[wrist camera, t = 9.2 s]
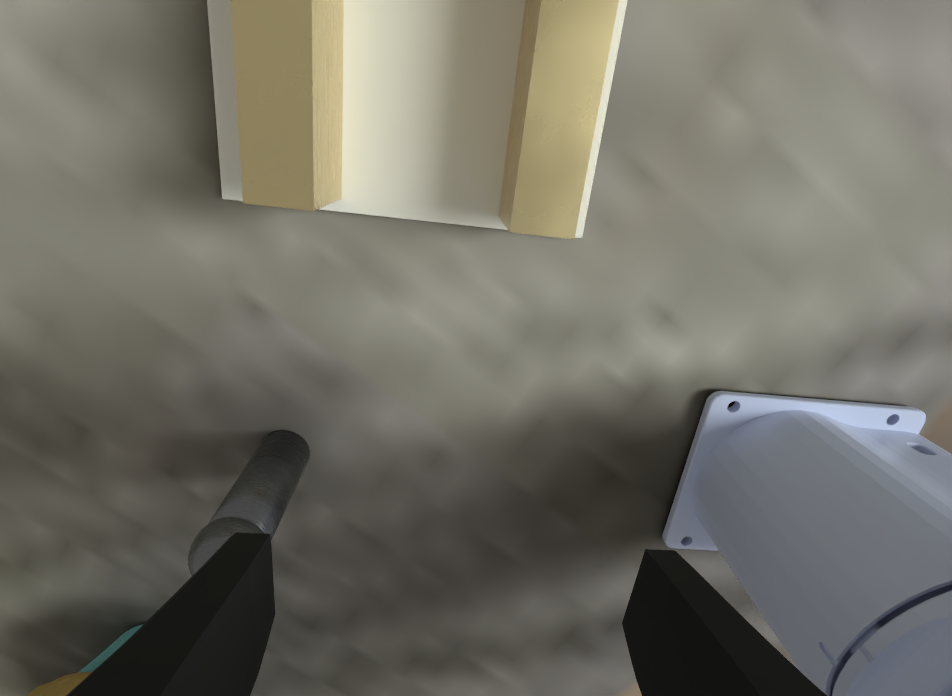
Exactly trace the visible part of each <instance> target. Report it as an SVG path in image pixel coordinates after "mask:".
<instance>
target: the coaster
mask: <svg viewBox="0 0 952 696" xmlns="http://www.w3.org/2000/svg"><path fill="white" fill-rule="evenodd" d="M207 6H208V20H209V33H210V46H211V59H212V72H213V85H214V98H215V111H216V124H217V137H218V150H219V163H220V176H221V189H222V199H229V200H238V201H243V198H242V182H241V166H240V150H239V134H238V118H237V102H236V85H235V69H234V53H233V37H232V21H231V5H230V0H207ZM626 6H627V0H619V2H618V8H617V13H616V18H615V24H614V29H613V35H612V40H611V45H610V51H609V56H608V61H607V67H606V72H605V78H604V83H603V88H602V94H601V99H600V104H599V110H598V115H597V121H596V126H595V131H594V137H593V142H592V147H591V153H590V158H589V164H588V169H587V174H586V180H585V185H584V190H583V196H582V201H581V207H580V212H579V217H578V223H577V228H576V233H575V237H577V238H582V235H583V230H584V225H585V219H586V214H587V209H588V204H589V198H590V193H591V188H592V183H593V178H594V172H595V167H596V162H597V157H598V152H599V146H600V141H601V136H602V131H603V125H604V120H605V115H606V110H607V105H608V99H609V94H610V89H611V84H612V79H613V73H614V68H615V63H616V58H617V52H618V47H619V42H620V37H621V32H622V26H623V21H624V16H625V11H626ZM524 8H525V0H344V22H343V118H342V199H340V200H338V201H335V202H333V203H331V204H329V205H326V206H324V207H322V208H320V209H321V210H330V211H339V212H348V213H357V214H366V215H376V216H385V217H394V218H403V219H412V220H421V221H430V222H440V223H449V224H458V225H467V226H476V227H485V228H495V229H504V230H508V229H507V228H506V227H505V225H504V224H503V222H502V221H501V219H500V218H499V217H498V214H499V206H500V198H501V190H502V182H503V174H504V166H505V158H506V150H507V142H508V134H509V127H510V119H511V111H512V103H513V95H514V87H515V79H516V71H517V63H518V55H519V47H520V40H521V32H522V24H523V16H524Z"/></svg>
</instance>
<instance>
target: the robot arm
mask: <svg viewBox="0 0 952 696" xmlns="http://www.w3.org/2000/svg"><path fill="white" fill-rule="evenodd" d="M733 401H735V403H734V405H733V406H731V407H729V408H727V407H728V405H729V403H731V402H733ZM889 416H890V417H889ZM888 417H889V418H888ZM925 420H926V415H925V413H924V412H923V411H921V410H919V409H917V408H914V407H907V406H895V405H883V404H871V403H859V402H847V401H835V400H823V399H811V398H799V397H787V396H775V395H764V394H752V393H740V392H728V391H716V392H714V393H712V394H711V395H710V396H709V397H708V398H707V400H706V403H705V406H704V409H703V412H702V415H701V418H700V421H699V424H698V427H697V430H696V434H695V437H694V440H693V443H692V446H691V449H690V452H689V455H688V458H687V461H686V464H685V467H684V470H683V474H682V477H681V480H680V483H679V486H678V489H677V492H676V495H675V498H674V501H673V504H672V507H671V510H670V514H669V517H668V520H667V523H666V526H665V529H664V532H663V537H662V538H663V540H664V542H665V544H666V545H667V546H668V547H670V548H678V549H696V550H715V551H720V553H721V554H722V556H723V557H724V559H725V560H726V562H727V563H728V565H729V566H730V568H731V569H732V571H733V572H734V574H735V575H736V577H737V578H738V580H739V581H740V583H741V584H742V586H743V587H744V589H745V590H746V592H747V593H748V595H749V596H750V598H751V599H752V601H753V602H754V604H755V605H756V607H757V608H758V610H759V611H760V613H761V614H762V616H763V617H764V619H765V620H766V622H767V623H768V625H769V626H770V628H771V629H772V631H773V632H774V634H775V635H776V637H777V638H778V640H779V641H780V643H781V644H782V646H783V647H784V649H785V650H786V652H787V653H788V655H789V656H790V658H791V659H792V661H793V662H794V664H795V665H796V667H797V668H798V669H797V668H796V667H795V666H794V665H793V664H792V663H790V662H789V661H788V660H787V659H786V658H785V657H784V656H783V655H782V654H781V653H780V652H779V651H778V650H777V649H775V648H774V647H773V646H772V645H771V644H770V643H769V642H768V641H767V640H766V639H765V638H764V637H763V636H762V635H761V634H760V633H759V632H758V631H757V630H756V629H755V628H754V627H753V626H752V625H750V624H749V623H748V622H747V621H746V620H745V619H744V618H743V617H742V616H741V615H740V614H739V613H738V612H737V611H736V610H735V609H734V608H733V607H732V606H731V605H730V604H729V603H728V602H727V601H726V600H725V599H724V598H723V597H722V596H721V595H720V594H719V593H718V592H717V591H716V590H715V589H714V588H713V587H712V586H711V585H710V584H709V583H708V582H707V581H706V580H705V579H704V578H703V577H702V576H701V575H700V574H699V573H698V572H697V571H696V570H695V569H694V568H693V567H692V566H691V565H690V564H688V563H687V562H686V561H685V560H684V559H683V558H682V557H681V556H680V555H679V554H678V553H677V552H676V551H673V550H648V549H645V552H644V556H643V559H642V562H641V565H640V568H639V571H638V575H637V578H636V581H635V584H634V587H633V590H632V593H631V597H630V600H629V603H628V606H627V609H626V612H625V616H624V619H623V622H622V624H623V628H624V633H625V637H626V641H627V645H628V649H629V653H630V657H631V661H632V665H633V668H634V672H635V676H636V679H637V682H638V685H639V688H640V691H641V693H642V696H952V454H950V453H948V452H947V451H945V450H943V449H942V448H940V447H938V446H937V445H935V444H934V443H932V442H930V441H929V440H927V439H925V438H924V437H922V436H920V435H919V432H920V430H921V429H922V427H923V425H924V423H925ZM685 537H687V538H685ZM683 538H685V539H683ZM274 616H275V603H274V586H273V568H272V551H271V534H263V533H239V532H236V533H235V534H234V535H232V536H231V537H230V538H229V539H228V540H227V541H226V542H225V543H224V544H223V545H222V546H221V547H220V548H219V549H218V550H217V551H216V552H215V553H214V554H213V555H212V556H211V558H210V559H209V560H208V561H207V562H206V563H205V564H204V565H203V566H202V567H201V568H200V569H199V570H198V571H197V572H196V573H195V574H194V575H193V576H192V577H191V578H190V579H189V580H188V581H187V582H186V583H185V584H184V585H183V586H182V587H181V588H180V589H179V590H178V591H177V592H176V593H175V594H174V595H173V596H172V597H171V598H170V599H169V600H168V601H167V602H166V603H165V604H164V605H163V606H162V607H161V608H160V609H159V610H158V611H157V612H156V613H155V614H154V615H153V616H152V617H151V618H150V619H149V620H148V621H147V622H145V623H144V624H143V625H142V626H141V627H140V628H139V629H138V630H137V631H136V632H135V633H134V634H133V635H132V636H131V637H130V638H129V639H128V640H127V641H126V642H125V643H124V644H123V645H121V646H120V647H119V648H118V649H117V650H116V651H115V652H114V653H113V654H112V655H111V656H109V657H108V658H107V659H106V660H105V661H104V662H103V663H102V664H101V665H99V666H98V667H97V668H96V669H95V670H94V671H93V672H92V673H91V674H89V675H88V676H87V677H86V678H85V679H84V680H83V681H82V682H81V683H79V684H78V685H77V686H76V687H75V688H74V689H73V690H72V691H71V692H69V693H68V694H67V695H66V696H250V694H251V691H252V689H253V686H254V684H255V681H256V678H257V676H258V673H259V669H260V666H261V662H262V659H263V656H264V652H265V649H266V645H267V642H268V638H269V634H270V631H271V627H272V624H273V620H274Z"/></svg>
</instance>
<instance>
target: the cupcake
mask: <svg viewBox="0 0 952 696" xmlns="http://www.w3.org/2000/svg"><path fill="white" fill-rule="evenodd" d="M142 625H143V624H142ZM142 625H138V626H135V627H133V628H131V629H129V630H128V631H126V632H125V633H123V634H122V635H121V636H120V637H119V638H118V639H117V640H115V641H114V642H113V643H112V644H111V645H110V646H109V647H108V648H107V649H105V650H104V651H103V652H102V653H101V654H100V655H98V656H97V657H96V658H95V659H94V660H92V661H91V662H90V663H89V664H88V665H86V666H85V667H84V668H83V669H81V670H80V671H79V672H77V673H72V674H67V675H64V676H62V677H59V678H57V679H56V680H54V681H52V682H49V683H46V684H42V685H40V686H38V687H36V688H35V689H34V690H32V691H31V692H30V693H29V694H28V695H27V696H66V695H67V694H68V693H69V692H71V691H72V690H73V689H74V688H75V687H76V686H77V685H78V684H79V683H81V682H82V681H83V680H84V679H85V678H86V677H87V676H88V675H89V674H91V673H92V672H93V671H94V670H95V669H96V668H97V667H98V666H99V665H101V664H102V663H103V662H104V661H105V660H106V659H107V658H108V657H109V656H111V655H112V654H113V653H114V652H115V651H116V650H117V649H118V648H119V647H120V646H121V645H123V644H124V643H125V642H126V641H127V640H128V639H129V638H130V637H131V636H132V635H133V634H134V633H135V632H136V631H137V630H138V629H139V628H140V627H141V626H142Z"/></svg>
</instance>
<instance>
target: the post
mask: <svg viewBox="0 0 952 696" xmlns="http://www.w3.org/2000/svg"><path fill="white" fill-rule="evenodd" d="M309 456H310V450H309V446H308V444H307V443H306V441H305V440H304V439H303V438H302V437H301V436H299V435H298V434H296V433H293V432H290V431H285V430H280V431H275V432H272V433H270V434H268V435H267V436H266V437H265V438H264V439H263V440H262V442H261V444H260V445H259V447H258V448H257V450H256V451H255V453H254V454H253V456H252V457H251V459H250V460H249V462H248V463H247V465H246V467H245V468H244V470H243V471H242V473H241V474H240V476H239V477H238V479H237V480H236V482H235V483H234V485H233V487H232V488H231V490H230V491H229V493H228V494H227V496H226V497H225V499H224V500H223V502H222V503H221V505H220V507H219V508H218V510H217V511H216V513H215V514H214V516H213V517H212V519H211V520H210V522H209V523H208V525H206V526H205V527H204V528H203V529H202V530H201V531H200V532H199V533H198V535H197V536H196V537H195V539H194V541H193V543H192V545H191V547H190V550H189V556H188V566H189V570H190V573H191V575H192V576H193V575H194V574H195V573H196V572H197V571H198V570H199V569H200V568H201V567H202V566H203V565H204V564H205V563H206V562H207V561H208V560H209V559H210V558H211V556H212V555H213V554H214V553H215V552H216V551H217V550H218V549H219V548H220V547H221V546H222V545H223V544H224V543H225V542H226V541H227V540H228V539H229V538H230V537H231V536H232V535H234V534H235V533H236V532H239V533H263V534H271V540H272V538H273V535H274V533H275V531H276V529H277V527H278V525H279V522H280V520H281V518H282V516H283V514H284V512H285V509H286V507H287V505H288V503H289V501H290V499H291V496H292V494H293V492H294V490H295V488H296V486H297V483H298V481H299V479H300V477H301V475H302V473H303V470H304V468H305V466H306V464H307V462H308V460H309Z"/></svg>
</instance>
